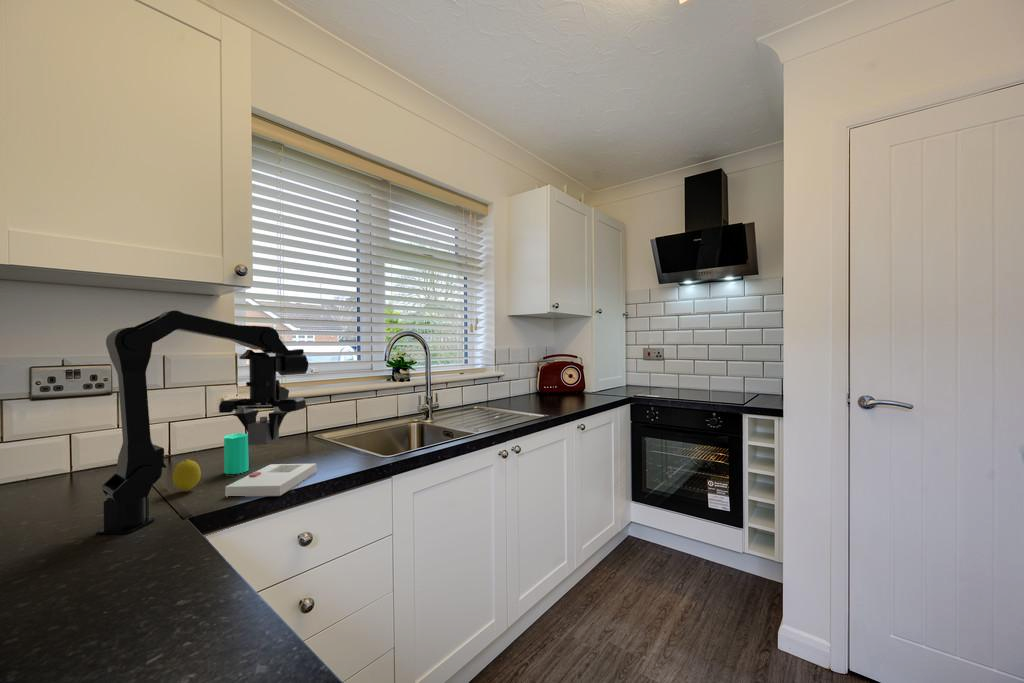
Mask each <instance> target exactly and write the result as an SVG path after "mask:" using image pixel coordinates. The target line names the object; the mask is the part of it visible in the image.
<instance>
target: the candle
mask: <svg viewBox="0 0 1024 683" xmlns="http://www.w3.org/2000/svg"><path fill="white" fill-rule="evenodd" d="M237 432H238V430H235V433H233V434H227V435H224V437H223V454H224V455H223V464H224V466H223V467H224V468H223V469H224V470H223V472H224V473H226V474H236V473H242V474H244V473H243V472H246V471H248V470H249V466H250V465H249V463H250V461H249V458H250V457H249V445H248V433H243V432H238V433H237ZM249 471H250V470H249ZM249 471H248V472H249ZM246 473H247V472H246Z"/></svg>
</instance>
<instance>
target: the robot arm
mask: <svg viewBox="0 0 1024 683" xmlns="http://www.w3.org/2000/svg"><path fill="white" fill-rule="evenodd" d="M175 331H180V332H183V333H184V332H185V333H186V332H187V333H190V334H196V335H202V336H206V337H212V338H217V339H222V340H229V341H231V342H234V343H236V344H238V345H240V346H243V347H246V348H249V349H246V350H245V352H243V353H242V354H241V355H240V356H239V357H238V358H239V360H249V361H248V362H249V363H248V366H249V367H248V368H249V381H246V382H245V384H246V385H245V386H246V387H249V398H230V399H224V400H222V401H220V403H219V405H218V413H219V414H224V413H226V414H228V413H233V412H234V411H235V413H233V414H232V416H233V417H237V419H238V420H239V422H240V423H241V424H242V426H243V427H244V429H245V431H247V433H248V424H250V423H254V422H257V415H258V413H259V409H262V410H263V409H264V410H265V409H273V411H272V412H269V413H268V420H269V424H270V434H271V439H272V440H274V439H275V438H276V436H277V433H278V431H279V432H280V428H281V425H282V423H283V420H284V418H285V417H286V415H287V414H288V413H292V412H297V411H300V410H304V409H306V408H307V401H306V400H305V398H304V397H300V396H299V397H289V394H290V390H289V389H287V388H285V387H283V386H281V384H280V380H279V379H277V373H278V374H279V376H293V375H305V374H306V373H307V372H308V369H309V361H308V358H307V356H306V354H305V353H304V349H302V348H297V349H288V347H287V346H286V345H285V344H284V342H283V341H282V340H281V338H280V334H279V333H278V331H277V328H274V327H272V326H268V325H267V326H265V325H264V326H263V325H244V324H243V325H242V324H235V323H230V322H227V321H222V320H218V319H212V318H207V317H202V316H198V315H194V314H189V313H185V312H182V311H179V310H169V311H165V312H162V313H161V314H160V315H158V316H155V317H154V318H151V319H149V320H147V321H144V322H142V323H139V324H138V325H135V326H131V327H124V328H122V327H121V328H117V329H116V330H113V331H112V332H110V333H109V334H108V335H107V336H106V340H105V345H106V348H107V352H108V354H109V358H110V360H111V362H112V365H113V367H114V368H115V371H116V374H117V381H118V397H119V406H120V418H121V434H122V444H121V447H120V450H119V453H118V455H117V456H118V457H117V463H116V469H115V473H113V475H111V477H109V478H108V479H107V480H105V482H104V483H103V484H101V486H100V488H101V490H102V493H103V494H104V495H105V496H107V497H108V498H106V500H104V501H103V527H102V528H100V529H98V530H97V529H96V530H95V532H94V533H95V535H105V534H106V535H108V534H109V535H113V534H120V535H121V534H129V533H132V532H134V531H136V530H138V529H140V528H142V527H144V526H146V525H149V524H150V523H152V522H154V521H156V517H149V516H150V515H149V514H150V513H149V512H150V510H149V509H150V504H149V500H150V498H149V494H150V492H151V490H152V487H153V485H154V484H155V483H157V481H158V480H160V478H161V477H162V475H163V469H166V468H167V465H166V464H165V462H164V461H165V460H164V457H165V448H164V447H162V446H159V445H156V444H154V443H153V442H152V437H151V425H150V413H149V412H150V411H149V400H148V398H149V397H148V387H147V370H148V365H149V363H150V360H151V356H152V351H153V350H152V349H153V344H154V343H155V342H158V341H160V340H162V339H164V338H165V337H167V336H169V335H170V334H171V333H174V332H175ZM255 351H257V352H255ZM258 351H260V352H258ZM270 354H275V355H270Z"/></svg>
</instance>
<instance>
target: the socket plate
mask: <svg viewBox="0 0 1024 683" xmlns="http://www.w3.org/2000/svg"><path fill="white" fill-rule="evenodd" d="M317 467H318V466H317V463H288V464H287V463H279V464H278V463H277V464H276V463H273V464H271V463H270V464H269V465H266V466H265V467H262V468H261V469H258V470H256V471H253V472H252V473H250V474H248V475H247V476H244V477H241V478H240V479H238V480H236V481H235V482H232V483H230V484H228V485H226V486H225V487H224V488H225V489H224V490H225V492H224V494H225V496H226V497H225V498H229V497H228V496H245V497H281V496H282V495H284V494H285V493H287V492H288V491H290V490H291V489H293V488H294V487H296V486H298V485H299V484H301V483H302V482H304V481H305V480H307V479H308V478H310V477H312V476H313V475H314V474H316V473H317ZM303 480H304V481H303ZM300 482H301V483H300ZM297 484H298V485H297Z"/></svg>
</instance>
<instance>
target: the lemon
mask: <svg viewBox="0 0 1024 683" xmlns="http://www.w3.org/2000/svg"><path fill="white" fill-rule="evenodd" d="M201 471H202V470H201V467H200V465H199V464H198V463H197V462H196V461H194V460H191V459H189V458H187V459H184V460H183V461H180V463H178V464H177V465H176V466H174V470H173V473H172V483H173V484H174V487H175V488H177V489H179V490H183V491H184V492H189V491H190V490H191V489H192V488H194V487H196V485H198V484H199V481H200V480H201V476H202V474H201Z"/></svg>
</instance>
